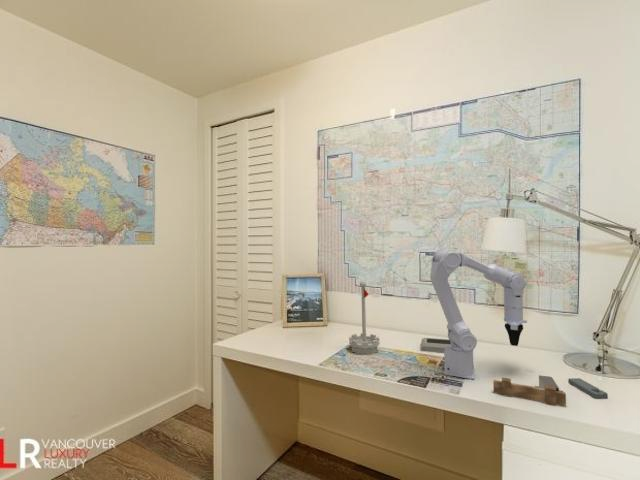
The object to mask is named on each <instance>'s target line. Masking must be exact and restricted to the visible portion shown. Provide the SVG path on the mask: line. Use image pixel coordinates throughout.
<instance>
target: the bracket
mask: <svg viewBox="0 0 640 480" xmlns="http://www.w3.org/2000/svg"><path fill="white" fill-rule="evenodd" d="M567 380H568V382H567V383H568V384H569V385H571V386H572V387H574V388H576V389H577V390H579V391H582V393H584V394H586V395H587V396H589V397H591V398H593V399H595V400H601V399H602V400H605V399H607V400H608V397H609V394H608V393H607V391H606V392H605V391H604V390H602V389H601V390H600V388H599V387H597V386H595V385H592V383H589V382H588V381H585V380H584V379H582V378H578V377H577V378H568V379H567Z"/></svg>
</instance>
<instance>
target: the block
mask: <svg viewBox="0 0 640 480" xmlns="http://www.w3.org/2000/svg"><path fill="white" fill-rule="evenodd" d="M545 385H550V386H555V388H556V391H559V390H560V387H559V385H558V384H557V383H556V381H555V380H554V378H553V377H552V376H548V375H547V376H545V375H538V387H539V388H543V389H545Z"/></svg>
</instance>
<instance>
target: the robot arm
mask: <svg viewBox="0 0 640 480" xmlns="http://www.w3.org/2000/svg"><path fill="white" fill-rule="evenodd" d="M430 261H431V269H430V275H429V277H430V281H431V284H432V286H433V288H434V292H435V294H436V296H437V298H438V302H439V304H440V306H441V309H442V312H443V314H444V316H445V319H446V322H447V325H446V328H447V338H448V339H449V340H450V341H451V346H446V347H445V352H444V353H443V358H444V359H443V360H444V363H443V365H444V366H443V367H444V375H447V376H452V377H458V378H463V379H469V380H475V375H476V372H477V370H476V369H474V366H475V365H474V350H475V348H476V347H477V344H478V340H477V337H476V336H475V335H474V334H473V332H471V330H470V328H469V326H468V325H467V324H466V322H465V321H464V318H463V316H462V314H461V311H460V308H459V306H458V303H457V301H456V297H455V295H454V293H453V291H452V288H451V286H450V283H449V277H450V276H451V274H452V273H454V272H455V271H456V270H457V269H458V268H459V267H461V268H462V267H467V268H469V269H471V270H475V271H478V272H480V273H481V274H483V276H484V278H485V279H486V280H489V281H491V282H493V283H496V284H498V285H500V286H501V287H502V288H503V305H504V306H503V309H504V310H503V313H504V314H503V315H504V318H503V321H504V322H505V323H504V328H505V330H506V332H507V334H508V339H509V344H510V346H514V347H516V346H517V347H518V346H519V342H520V337H521V334H522V333H523V330H524V325H523V324H527V323H528V320H527V319H524V298H523V297H524V290H525V289H526V287H527V284H528V283H527V281H526V279H525V277H524V276H523V275H522V274H519V273H513V270H511V269H506V268H504V267H501V265H500V264H499V263H490V264H485V263H483V262H481V261H480V260H478V259H475V258H474V257H471V256H470V255H468V254H465V253H462V252H457V251H455V250H445V249H438V250H437V251H435V252H434V254H433V256H432V258H431V259H430Z"/></svg>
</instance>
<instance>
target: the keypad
mask: <svg viewBox="0 0 640 480" xmlns="http://www.w3.org/2000/svg"><path fill="white" fill-rule="evenodd" d="M446 346H451V341H450V340H449V338H448V339H447V338H435V337H424V338H422V339H421V345H420V349H421V350H420V351H421V352H426V351H427V352H428V353H439V354H440V353H442V354H444V352H445V347H446ZM427 352H426V353H427Z"/></svg>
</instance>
